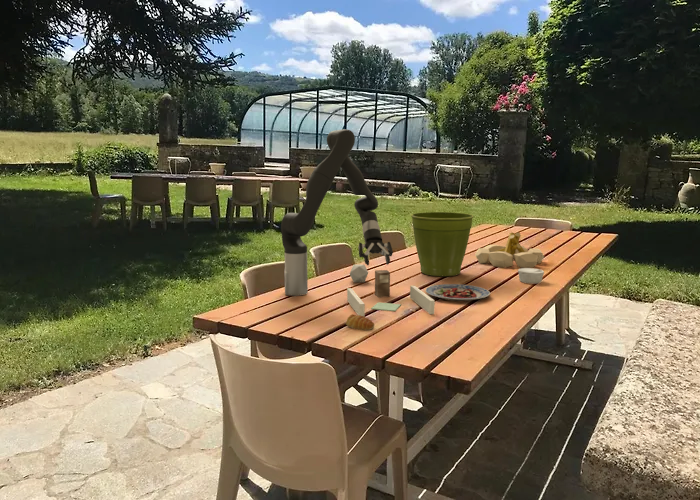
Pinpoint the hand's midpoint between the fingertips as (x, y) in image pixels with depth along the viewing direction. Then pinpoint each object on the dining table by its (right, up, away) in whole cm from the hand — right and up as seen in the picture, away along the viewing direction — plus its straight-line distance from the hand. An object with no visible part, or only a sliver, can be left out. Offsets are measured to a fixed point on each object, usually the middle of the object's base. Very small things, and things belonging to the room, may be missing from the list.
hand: (378, 263), depth 227 cm
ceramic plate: (+32, -13, -5) cm, 35 cm away
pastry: (-9, -20, -47) cm, 52 cm away
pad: (+2, -16, -23) cm, 28 cm away
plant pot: (+32, -6, +39) cm, 51 cm away
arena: (+3, -16, -23) cm, 28 cm away
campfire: (+75, -1, +68) cm, 101 cm away
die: (-8, -9, +20) cm, 23 cm away
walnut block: (+1, -13, -5) cm, 14 cm away
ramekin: (+71, -9, +21) cm, 74 cm away
